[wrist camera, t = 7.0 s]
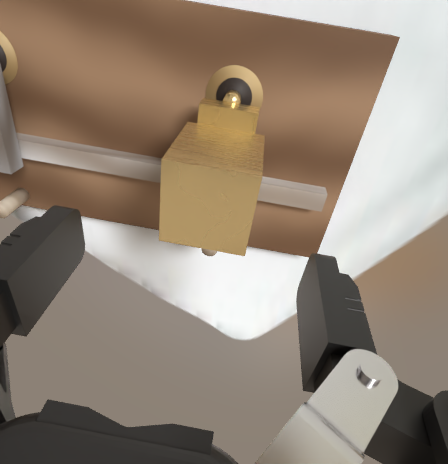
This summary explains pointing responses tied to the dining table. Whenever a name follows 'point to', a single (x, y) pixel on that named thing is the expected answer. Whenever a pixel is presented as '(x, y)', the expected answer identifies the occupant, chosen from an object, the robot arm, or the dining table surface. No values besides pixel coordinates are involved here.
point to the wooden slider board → (178, 106)
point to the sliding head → (213, 178)
